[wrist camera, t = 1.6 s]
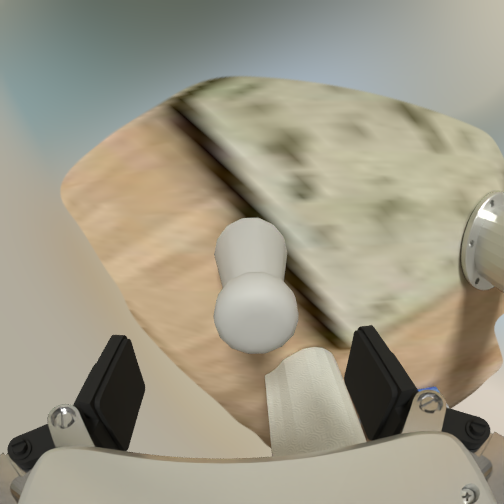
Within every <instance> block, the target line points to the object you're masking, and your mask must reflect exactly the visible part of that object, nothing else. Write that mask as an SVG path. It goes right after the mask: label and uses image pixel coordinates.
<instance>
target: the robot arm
mask: <svg viewBox="0 0 504 504" xmlns="http://www.w3.org/2000/svg"><path fill="white" fill-rule="evenodd" d="M461 261H462V268H463V273H464V275H465V278H466V279H467V281H468V282H469V283H470V284H471V285H472V286H474V287H475V288H477V289H479V290H489V289H491V288H493V287H496V288H498V289H499V290H500V291H502V292H503V293H504V192H501V191H495V192H492V193H490V194H488V195H486V196H485V197H484V198H483V199H482V200H481V201H480V202H479V204H478V205H477V206H476V208H475V209H474V211H473V213H472V215H471V217H470V219H469V221H468V224H467V227H466V230H465V233H464V238H463V243H462V252H461ZM344 381H345V385H346V387H347V389H348V392H349V394H350V396H351V399H352V401H353V404H354V406H355V408H356V411H357V413H358V415H359V418H360V420H361V423H362V425H363V428H364V430H365V432H366V435H367V437H368V439H369V440H370V441H369V442H364V443H360V444H355V445H350V446H345V447H340V448H335V449H329V450H323V451H317V452H310V453H303V454H294V455H285V456H274V457H263V458H262V457H261V458H242V459H240V458H239V459H207V458H183V457H170V456H159V455H150V454H141V453H133V452H127V450H128V448H129V444H130V440H131V437H132V433H133V430H134V426H135V423H136V419H137V416H138V412H139V409H140V405H141V402H142V399H143V396H144V392H145V384H144V381H143V378H142V375H141V372H140V369H139V366H138V363H137V359H136V356H135V353H134V349H133V346H132V343H131V340H130V339H127V337H126V336H125V335H112V336H111V338H110V340H109V341H108V343H107V345H106V347H105V349H104V350H103V352H102V354H101V356H100V357H99V359H98V361H97V363H96V364H95V365H94V366H93V368H92V370H91V372H90V374H89V375H88V378H87V379H86V381H85V383H84V385H83V387H82V389H81V391H80V393H79V395H78V397H77V399H76V401H75V403H74V405H69V404H62V405H58V406H57V407H54V408H53V409H52V410H51V411H50V413H49V414H48V418H47V421H48V424H46V425H44V426H42V427H39V428H37V429H34V430H32V431H29V432H27V433H25V434H22V435H19V436H17V437H15V438H13V439H12V440H11V441H10V443H9V445H8V453H7V454H6V455H5V454H4V453H2V454H1V455H0V504H504V437H503V436H502V435H500V434H498V433H497V432H494V433H493V434H492V433H490V427H489V425H488V423H487V422H486V421H485V420H484V419H482V418H480V417H477V416H473V415H470V414H466V413H463V412H459V411H456V410H453V409H450V408H447V407H446V400H445V398H444V397H443V396H442V395H441V394H440V393H439V392H437V391H434V390H422V391H420V392H419V391H418V390H417V388H416V386H415V385H414V383H413V382H412V380H411V379H410V377H409V376H408V374H407V373H406V371H405V370H404V368H403V367H402V365H401V364H400V362H399V361H398V359H397V358H396V357H395V355H394V354H393V353H392V352H391V351H390V350H389V348H388V347H387V345H386V344H385V342H384V341H383V339H382V338H381V337H380V335H379V334H378V332H377V331H376V329H375V328H374V327H373V326H372V325H370V326H362V327H359V328H358V330H357V331H355V332H354V336H353V341H352V346H351V350H350V355H349V359H348V364H347V368H346V372H345V376H344ZM371 440H372V441H371Z"/></svg>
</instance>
